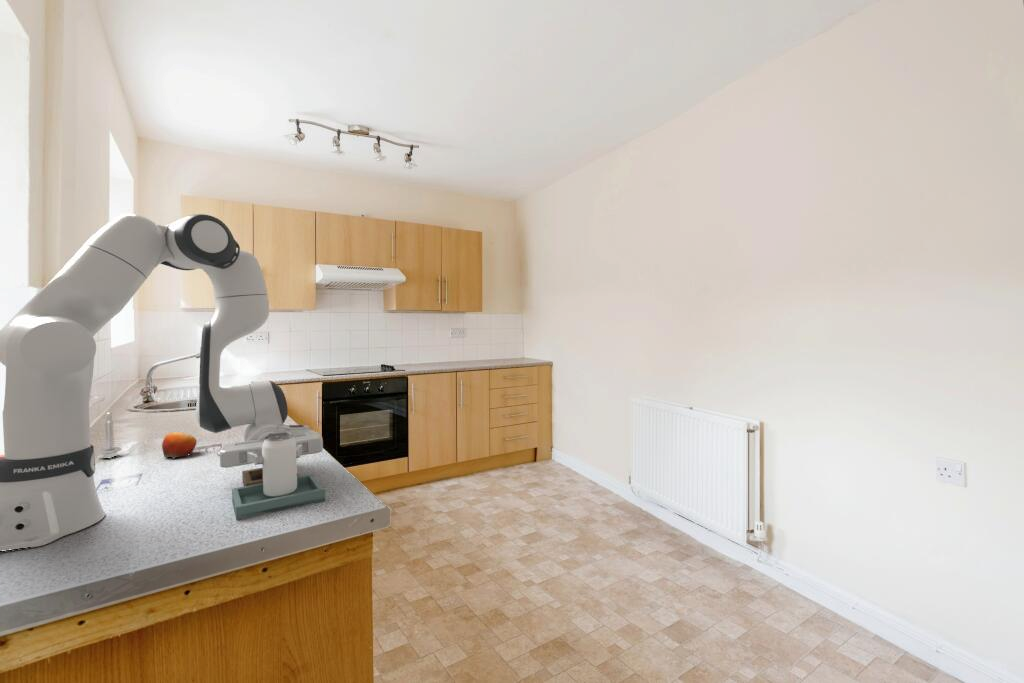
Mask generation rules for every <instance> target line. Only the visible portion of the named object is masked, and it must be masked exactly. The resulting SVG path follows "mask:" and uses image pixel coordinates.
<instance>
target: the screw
mask: <svg viewBox="0 0 1024 683" xmlns="http://www.w3.org/2000/svg"><path fill="white" fill-rule="evenodd" d="M112 414H113V413H112V412H110V411H108V412H106V413H105V415H104V416H105V422H104V425H105V426H104V430H105V446H106V447H105V448H103V449H100V450H99V451H98V454H101V455H103V458H104V457H106V458H108V457H114V456H116V455H117V456H118V452H121V451H122V448H121V447H119V446H115V441H114V440H115V437H114V421H113V416H112Z"/></svg>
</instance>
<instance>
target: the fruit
mask: <svg viewBox="0 0 1024 683" xmlns="http://www.w3.org/2000/svg"><path fill="white" fill-rule="evenodd" d="M196 446H197V439H196V437H195V436H193V435H192V434H187V433H184V432H179V431H175V432H171V433H168V434H167V435H165V436H164V438H163V440H162V443H161V449H162V453H163V457H165V458H169V457H171V458H172V460H173V459H174V460H175V459H176V458H178V457H179V458H180V457H186V455H188V454H190V455H191V454H192V453H193V452H194V450H195V448H196ZM188 456H189V455H188Z"/></svg>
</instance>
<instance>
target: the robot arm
mask: <svg viewBox="0 0 1024 683" xmlns="http://www.w3.org/2000/svg"><path fill="white" fill-rule="evenodd" d="M159 265H164V266H167V267H169V268H173V269H174V270H175V269H176V270H180V271H194V270H197V269H198V270H202V271H203V272H204V273H206V275H207V276H208V278H209V280H210V281H211V284H212V285H213V286H212V287H213V294H214V300H215V307H214V308H215V309H214V313H213V316H212V318H211V319H210V320H208V321H206V322H205V323H204V324H203V327H202V331H201V343H200V344H201V346H200V354H199V382H198V383H199V390H198V396H197V400H196V404H195V418H196V421H197V423H198V424H199V427H200V428H202V429H204V430H205V431H207V432H211V433H213V434H218V433H222V432H224V431H228V430H232V429H233V428H237V427H242V426H245V427H244V432H243V441H237V442H231V443H227V444H224V445H222V446H221V448H220V449H218V450H216V455H217V457H219V466H220V468H224V469H225V468H233V467H240V466H244V465H250V464H253V465H255V466H259V465H262V464H263V455H262V445H263V442H264V440H265V439H264V437H266V436H268V435H271V434H276V433H292V434H294V439H295V440H296V458H297V459H300V458H301V456H306V455H312V454H313V455H314V454H319V453H321V452H323V450H324V440H323V436H322V435H321V434H320V433H319V432H318V431H316V430H313V429H310V426H309V425H307V424H298V425H297V424H296V425H295V424H289V425H288V424H284V423H285V422H286V420H287V417H288V416H289V415H288V412H289V410H288V403H287V398H286V395H285V392H284V391H283V389H282V388H281V387H280V385H278V384H277V383H275V382H273V381H271V380H264V381H259V382H251V383H248V384H243V385H236V386H232V387H222V386H220V372H221V355H222V354H223V353H222V352H223V351H224V349H225V348H226V347H227V346H229V345H230V344H232V343H233V342H235V341H238V340H240V339H241V338H244V337H246V336H248V335H250V334H252V333H253V332H255V331H257V330H258V329H260V328H261V327H262V326H264V324H265V323H266V322H267V320H268V318H269V315H270V302H269V295H268V291H267V289H268V288H267V285H266V281H265V278H264V274H263V271H262V268H261V264H260V262H259V260H258V259H257V257H256V256H255V255H254V254H252V253H250V252H248V251H245V250H241V247H240V245H239V243H238V242H237V241H236V239H235V238H234V235H233V233H232V231H231V230H230V228H229V227H228V226H227V225H226V224H225V223H224V222H223V221H222V220H220V219H219V218H217V217H215V216H213V215H209V214H204V213H197V214H190V215H187V216H184V217H183V218H179V219H176V220H174V221H173V222H170V223H169V224H166V225H161V224H158V223H157V224H156V223H155V222H154V221H152V220H150V219H149V218H146V217H145V216H141V215H138V214H133V213H125V214H120V215H119V216H117V217H115V218H113V219H112V220H111V221H110V222H108V223H106V225H104V226H103V227H101V228H100V229H99V230H98V231H96V233H94V234H93V235H92V236H90V238H89V239H88V240H87V241H86V242H85V243H84V244H83V245H82V247H80V249H79V250H78V251H77V252H76V253H75V254H74V255H73V257H72V258H70V259H69V261H68V262H66V264H65V265H64V266H63V268H62V269H61V270H60V271H59V272H58V273H56V275H55V276H54V277H53V278H52V279H51V280H50V281H49V282H48V283H47V284H46V285H45V286H44V287H43V288H42V289H41V290H40V291H38V292H37V293H36V294H35V296H33V297H32V298H31V299H30V300H29V301H28V302H27V303H26V304H25V305H24V306H22V308H20V310H19V311H18V312H17V313H16V314H15V315H14V316H13V317H12V318H11V319H10V320H9V321H8V322H7V323H6V324H5V325H4V326H3V327H2V328H1V329H0V363H1V364H2V365H3V366H4V367H5V386H4V387H5V388H4V389H5V390H4V400H3V401H4V403H3V410H2V430H3V431H2V433H3V446H4V448H3V449H4V450H3V451H4V454H0V551H2V550H9V549H18V550H20V549H19V548H25V549H28V548H27V547H31V548H35V547H37V548H38V547H41V546H45V545H47V544H48V545H49V544H50V543H52V542H54V541H56V540H58V539H60V538H62V537H64V536H68V535H69V534H74V533H76V532H78V531H81V530H84V529H86V528H89V527H91V526H93V525H94V524H97V523H98V522H100V521H101V520H103V518H104V517H105V516H106V512H105V511H104V509H103V507H102V503H101V502H100V499H99V495H98V492H97V487H96V484H95V477H94V474H95V472H96V452H95V449H94V448H95V446H94V445H93V444H91V424H90V398H91V390H92V384H93V377H94V364H95V356H96V352H97V344H96V340H95V338H94V336H95V335H96V334H97V333H98V332H99V331H100V330H101V329H103V327H105V326H106V324H108V323H109V322H110V321H111V320H112V319H113V318H114V317H115V316H116V315H119V313H120V312H121V311H123V309H124V308H125V307H126V306H127V304H128V303H129V302H130V300H131V299H132V298H133V296H134V295H135V294H136V293H137V291H138V290H139V289H140V288H141V286H142V285H143V284H144V283H145V282H146V281H147V279H148V278H149V276H150V275H151V273H152V272H153V271H154V270H155V268H157V267H158V266H159Z"/></svg>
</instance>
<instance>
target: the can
mask: <svg viewBox="0 0 1024 683" xmlns="http://www.w3.org/2000/svg"><path fill="white" fill-rule="evenodd" d="M264 439H265V440H264V442H263V445H262V455H263V464H261V465H262V466H261V468H263V493H264V494H265V495H266V496H268V497H281V496H285V495H289V494H291V493H293V492H294V491H295V490H296V489H297V474H298V464H297V463H298V462H297V461H298V458H296V440H295V439H294V434H292V433H276V434H271V435H268V436H266V437H264Z"/></svg>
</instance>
